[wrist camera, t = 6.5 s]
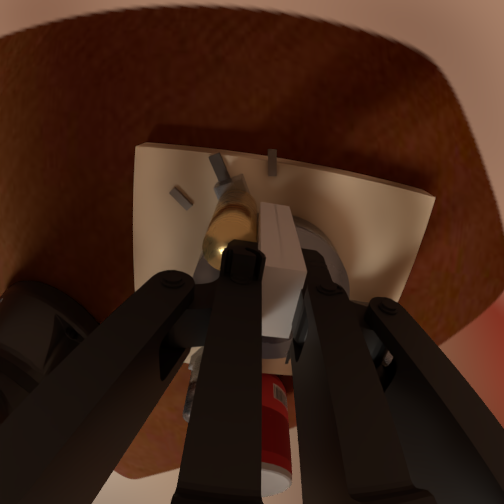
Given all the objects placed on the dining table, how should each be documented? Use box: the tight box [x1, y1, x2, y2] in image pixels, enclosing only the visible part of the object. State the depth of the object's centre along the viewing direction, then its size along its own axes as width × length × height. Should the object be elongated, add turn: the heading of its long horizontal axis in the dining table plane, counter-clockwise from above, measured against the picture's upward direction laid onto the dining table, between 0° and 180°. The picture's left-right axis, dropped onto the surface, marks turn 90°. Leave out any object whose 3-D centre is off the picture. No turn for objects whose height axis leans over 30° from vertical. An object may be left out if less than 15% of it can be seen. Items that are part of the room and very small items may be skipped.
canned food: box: [261, 373, 292, 497], centre depth 25 cm, size 8×8×11 cm
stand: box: [133, 142, 435, 375], centre depth 22 cm, size 20×18×4 cm
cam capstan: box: [183, 174, 393, 423], centre depth 18 cm, size 13×16×7 cm
